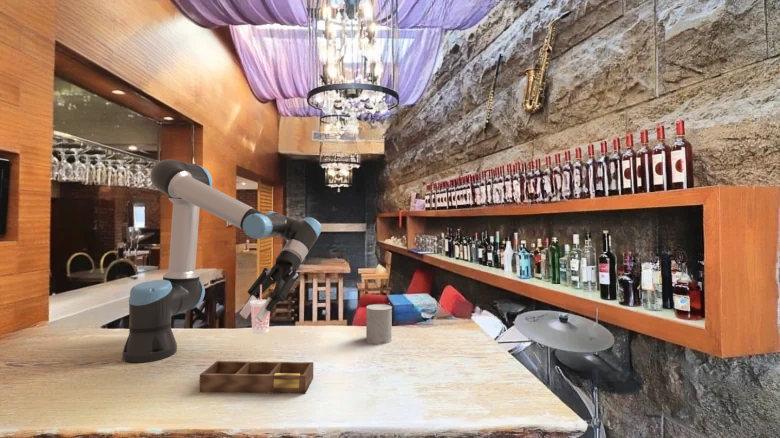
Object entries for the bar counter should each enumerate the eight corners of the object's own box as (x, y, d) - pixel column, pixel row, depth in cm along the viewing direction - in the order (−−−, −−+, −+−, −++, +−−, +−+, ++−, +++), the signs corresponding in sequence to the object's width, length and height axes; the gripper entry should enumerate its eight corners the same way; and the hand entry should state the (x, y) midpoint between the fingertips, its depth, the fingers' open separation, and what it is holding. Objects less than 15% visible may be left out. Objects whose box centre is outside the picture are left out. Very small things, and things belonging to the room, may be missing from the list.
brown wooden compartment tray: (198, 392, 98) (199, 374, 98) (216, 377, 108) (217, 360, 108) (305, 394, 98) (305, 375, 98) (313, 378, 108) (313, 361, 108)
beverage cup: (275, 331, 115) (276, 284, 115) (258, 336, 110) (259, 287, 110) (261, 327, 118) (262, 282, 118) (245, 332, 113) (245, 285, 113)
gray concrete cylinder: (388, 345, 137) (389, 310, 137) (363, 343, 139) (363, 309, 139) (394, 337, 146) (394, 304, 146) (369, 335, 148) (369, 303, 148)
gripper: (319, 266, 123) (281, 329, 109) (276, 262, 132) (235, 320, 118) (308, 250, 118) (267, 315, 104) (264, 247, 128) (221, 306, 113)
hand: (250, 317), depth 111 cm, fingers closed on beverage cup, 6 cm apart
